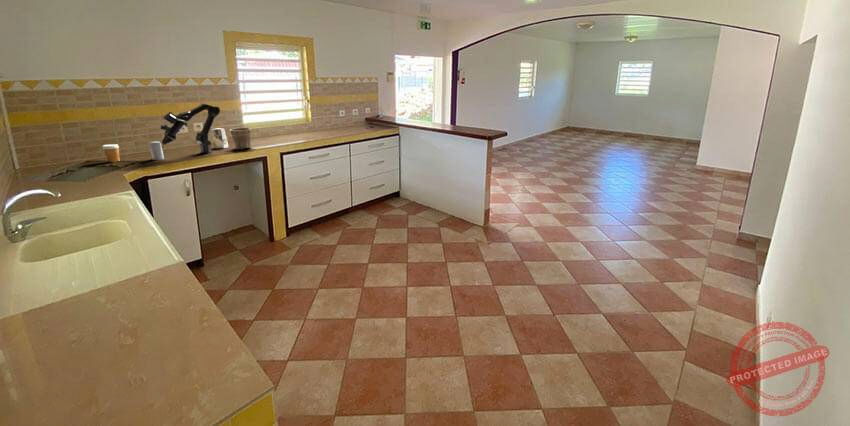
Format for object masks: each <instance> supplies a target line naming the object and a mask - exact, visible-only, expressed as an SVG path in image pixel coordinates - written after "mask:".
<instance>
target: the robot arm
mask: <svg viewBox="0 0 850 426" xmlns="http://www.w3.org/2000/svg"><path fill="white" fill-rule="evenodd" d="M203 111H207V115H208V116H207V117H206V121H205V122H204V125H203V126H202V130H201V131H200V132H197V133H196V135H195V140H196V141H195V142H196V143H198V145H199V148H200V154H210V153H212V152H213V150H212V149H211V145H212V142H211V141H210V140H209V132H210V130H211V129H212V128H211V127H213V126H212V125H213V123H214V120H215V119H216V118H217V117H218V116H219V115H220V113H221V109H220V107H218V106H214V105H213V106H212V105H210V104H207V103H201V104H200V105H197V106H196V107H194V108H192V109H190V110H188V111H183V112H180V113H178V115H175V114H173V113H172V111H169V112H168V113H166V114H165V115H164V117H163V119H164V121H166V122H168V123H170V124H171V126H168V125H167V124H162V123H161V124H160V128H159V129H160V130H163V131H164V130H165V131H164V137H163V138H162V141H161V144H162V145H163V146H165V145H167V144H169V143H171V142H173V141H175V140H177V135H178V133H180V131H181V130H182V129H184V127H186V128H188V123H187V122H188V121H190V120H191V119H192V118H193V116H196V115H197V114H199V113H201V112H203Z"/></svg>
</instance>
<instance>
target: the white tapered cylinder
mask: <svg viewBox="0 0 850 426" xmlns="http://www.w3.org/2000/svg"><path fill="white" fill-rule="evenodd" d="M148 145H149V149H150V154H151V157H152V161H160V160H164V159H165V157H164V153H163V148H162V142H161V141H149V142H148Z"/></svg>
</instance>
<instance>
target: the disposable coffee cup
mask: <svg viewBox="0 0 850 426" xmlns="http://www.w3.org/2000/svg"><path fill="white" fill-rule="evenodd" d="M102 149H103V151H104V153H105V157H106V158H107V161H108V163H111V162H112V163H118V162H117V161H119V162H120V161H121V160H120V150H119V145H118V144H117V143H112V144H110V143H109V144H104V145H102Z"/></svg>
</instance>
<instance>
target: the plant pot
mask: <svg viewBox="0 0 850 426" xmlns="http://www.w3.org/2000/svg"><path fill="white" fill-rule="evenodd" d="M229 131H230V135H232V140H233V144H234V147H235V149H236V150H246V149H245V148H249V149H251V148H252V144H251V127H236V128H230V129H229Z"/></svg>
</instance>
